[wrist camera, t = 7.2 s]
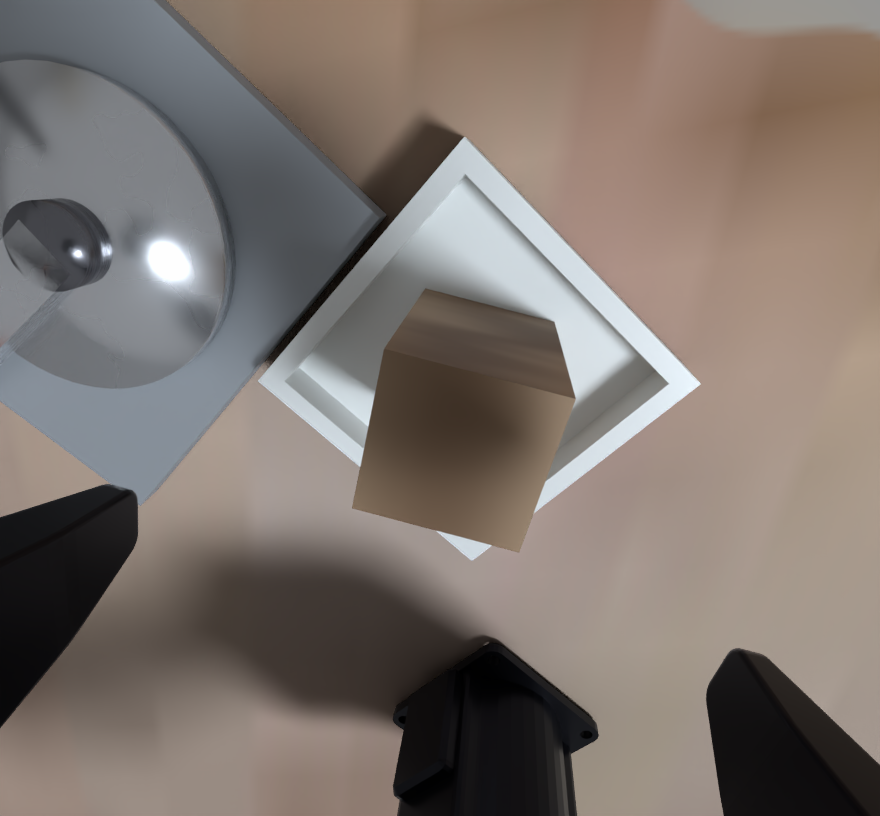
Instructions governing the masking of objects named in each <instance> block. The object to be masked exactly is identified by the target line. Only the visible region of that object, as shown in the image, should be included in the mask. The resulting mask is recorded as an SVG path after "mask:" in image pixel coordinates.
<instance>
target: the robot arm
mask: <svg viewBox="0 0 880 816" xmlns="http://www.w3.org/2000/svg"><path fill="white" fill-rule="evenodd" d="M137 537H138V499H137V495H136V493H135V492H134V491H133V490H131V489H127V488H123V487H119V486H115V485H111V484H105V485H101V486H98V487H95V488H92V489H88V490H85V491H82V492H79V493H76V494H73V495H70V496H66V497H63V498H60V499H57V500H54V501H51V502H47V503H44V504H41V505H38V506H35V507H32V508H28V509H25V510H22V511H19V512H16V513H13V514H10V515H6V516H3V517H0V728H1V727H2V725H3V724H4V723H5V722H6V721H7V719H8V718H9V717H10V716H11V714H12V713H13V712H14V711H15V710H16V708H17V707H18V706H19V705H20V704H21V702H22V701H23V700H24V699H25V697H26V696H27V695H28V694H29V693H30V691H31V690H32V689H33V688H34V686H35V685H36V684H37V683H38V682H39V680H40V679H41V678H42V677H43V676H44V674H45V673H46V672H47V671H48V669H49V668H50V667H51V666H52V665H53V663H54V662H55V661H56V660H57V659H58V657H59V656H60V655H61V654H62V652H63V651H64V650H65V648H66V647H67V646H68V645H69V643H70V642H71V641H72V639H73V638H74V637H75V635H76V634H77V632H78V631H79V630H80V628H81V627H82V625H83V624H84V622H85V621H86V619H87V618H88V616H89V615H90V613H91V612H92V610H93V609H94V607H95V606H96V604H97V603H98V601H99V600H100V598H101V597H102V595H103V594H104V592H105V591H106V589H107V588H108V586H109V585H110V583H111V582H112V580H113V579H114V577H115V576H116V574H117V573H118V571H119V570H120V568H121V567H122V565H123V564H124V563H125V561H126V560H127V558H128V557H129V555H130V554H131V552H132V550H133V549H134V546H135V544H136V541H137ZM491 656H496V657H491ZM706 703H707V710H708V717H709V723H710V730H711V737H712V744H713V750H714V757H715V764H716V771H717V777H718V784H719V791H720V797H721V803H722V808H723V814H724V816H880V765H879V764H878V763H877V762H876V761H875V760H874V759H873V758H872V757H871V756H870V755H869V754H868V753H867V752H866V751H865V750H864V749H863V748H862V747H860V746H859V745H858V744H857V743H856V742H855V741H854V740H853V739H852V738H851V737H850V736H849V735H848V734H847V733H846V732H845V731H844V730H843V729H842V728H841V727H839V726H838V725H837V724H836V723H835V722H834V721H833V720H832V719H831V718H830V717H829V716H828V715H827V714H826V713H825V712H824V711H823V710H822V709H821V708H820V707H819V706H817V705H816V704H815V703H814V702H813V701H812V700H811V699H810V698H809V697H808V696H807V695H806V694H805V693H804V692H803V691H802V690H801V689H800V688H799V687H798V686H797V685H795V684H794V683H793V682H792V681H791V680H790V679H789V678H788V677H787V676H786V675H785V674H784V673H783V672H782V671H781V670H780V669H779V668H778V667H777V666H776V665H775V664H773V663H772V662H771V661H770V660H769V659H768V658H767V657H766V656H764V655H762V654H759V653H756V652H752V651H748V650H744V649H740V648H736V649H733V650H731V651H730V652H729V653H728V654H727V656H726V658H725V659H724V661H723V662H722V664H721V665H720V667H719V669H718V670H717V672H716V673H715V675H714V677H713V678H712V680H711V681H710V683H709V685H708V688H707V693H706ZM393 721H394V723H395V724H396V725H398V726H399V727H400V728H402V729H403V730H404V731H403V736H402V742H401V747H400V752H399V757H398V763H397V768H396V773H395V779H394V784H393V792H394V796H395V797H397V798H398V799H399V800H400V802H399V808H398V813H397V816H577V810H576V800H575V791H574V781H573V771H572V761H571V754H572V753H573V752H575V751H577V750H579V749H581V748H583V747H584V746H586V745H588V744H590V743H592V742H594V741H595V740H596V739H597V738H598V736H599V735H598V729H597V724H596V722H595V721H594V720H593V719H591V718H590V717H589V716H588V715H586V714H585V713H584V712H583V711H581V710H580V709H579V708H578V707H577V706H575V705H574V704H573V703H572V702H570V701H569V700H568V699H567V698H565V697H564V696H563V695H562V694H560V693H559V692H558V691H557V690H556V689H554V688H553V687H552V686H551V685H549V684H548V683H547V682H546V681H544V680H543V679H542V678H541V677H540V676H538V675H537V674H536V673H535V672H533V671H532V670H531V669H530V668H528V667H527V666H526V665H525V664H523V663H522V662H521V661H520V660H519V659H517V658H516V657H515V656H514V655H512V654H511V653H510V652H509V651H507V650H506V649H505V648H504V647H502V646H501V645H499V644H495V643H492V644H487V645H485V646H484V647H482V648H481V649H479V650H478V651H476V652H475V653H473V654H472V655H470V656H469V657H467V658H466V659H465V660H463V661H462V662H460V663H459V664H457V665H456V666H454V667H453V668H451V669H449V670H447V671H445V672H444V673H442V674H441V675H440V676H438V677H437V678H435V679H434V680H432V681H431V682H429V683H428V684H426V685H425V686H424V687H422V688H421V689H419V690H418V691H416V692H415V693H413V694H412V695H411V696H410V697H409V698H408V699H406V700H405V701H403V702H402V703H400V704H399V705H397V706H396V708H395V711H394V716H393Z"/></svg>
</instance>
